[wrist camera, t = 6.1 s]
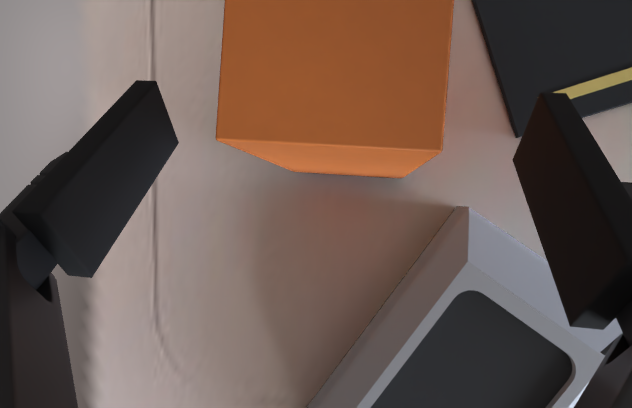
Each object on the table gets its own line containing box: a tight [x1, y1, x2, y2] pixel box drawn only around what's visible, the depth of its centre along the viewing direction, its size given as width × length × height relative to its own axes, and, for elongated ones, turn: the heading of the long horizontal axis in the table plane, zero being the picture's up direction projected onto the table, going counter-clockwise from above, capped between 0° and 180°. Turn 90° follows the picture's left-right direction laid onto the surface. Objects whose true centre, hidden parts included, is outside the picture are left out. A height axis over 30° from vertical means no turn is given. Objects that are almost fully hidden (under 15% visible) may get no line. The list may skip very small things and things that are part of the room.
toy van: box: [216, 0, 454, 178], centre depth 16 cm, size 10×6×12 cm, turn 176°
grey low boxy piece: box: [307, 206, 623, 408], centre depth 19 cm, size 10×4×15 cm
